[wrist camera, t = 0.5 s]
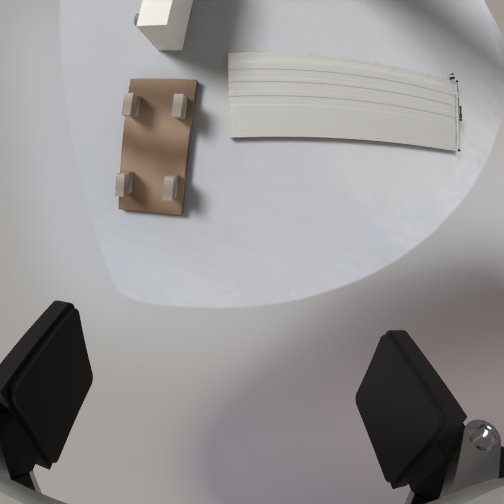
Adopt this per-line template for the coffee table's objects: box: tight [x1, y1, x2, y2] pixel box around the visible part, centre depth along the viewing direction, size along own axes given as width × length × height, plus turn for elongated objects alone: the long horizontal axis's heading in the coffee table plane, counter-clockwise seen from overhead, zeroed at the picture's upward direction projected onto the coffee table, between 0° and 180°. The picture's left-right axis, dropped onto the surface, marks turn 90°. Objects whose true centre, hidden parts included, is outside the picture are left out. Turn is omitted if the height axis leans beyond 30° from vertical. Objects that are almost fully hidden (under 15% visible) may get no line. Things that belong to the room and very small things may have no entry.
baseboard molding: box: [228, 52, 462, 151], centre depth 31 cm, size 31×3×12 cm
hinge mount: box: [115, 79, 198, 215], centre depth 31 cm, size 16×8×4 cm, turn 172°
